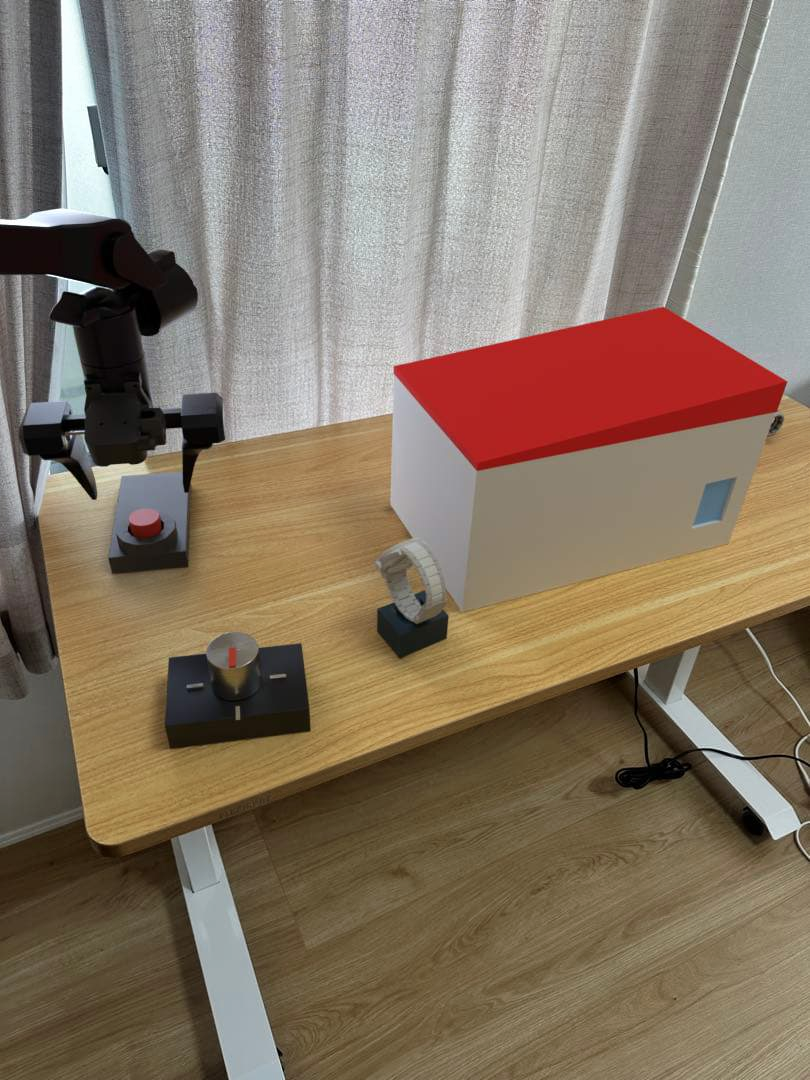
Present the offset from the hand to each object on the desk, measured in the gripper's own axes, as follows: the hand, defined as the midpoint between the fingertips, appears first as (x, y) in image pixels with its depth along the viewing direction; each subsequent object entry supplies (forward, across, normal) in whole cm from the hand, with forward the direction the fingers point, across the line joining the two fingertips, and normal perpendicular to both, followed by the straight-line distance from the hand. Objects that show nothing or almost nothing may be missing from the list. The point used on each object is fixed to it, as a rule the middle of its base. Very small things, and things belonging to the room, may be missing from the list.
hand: (141, 494), depth 84 cm
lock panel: (+8, +9, -23) cm, 26 cm away
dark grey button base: (+8, 0, +6) cm, 10 cm away
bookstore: (+9, +47, 0) cm, 48 cm away
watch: (+9, +26, -16) cm, 32 cm away
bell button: (+5, 0, 0) cm, 5 cm away
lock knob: (+5, +9, -23) cm, 25 cm away
